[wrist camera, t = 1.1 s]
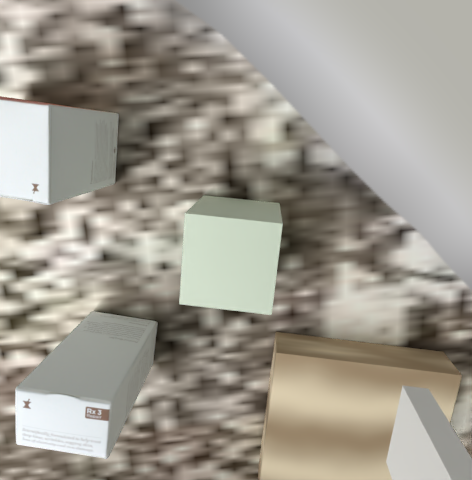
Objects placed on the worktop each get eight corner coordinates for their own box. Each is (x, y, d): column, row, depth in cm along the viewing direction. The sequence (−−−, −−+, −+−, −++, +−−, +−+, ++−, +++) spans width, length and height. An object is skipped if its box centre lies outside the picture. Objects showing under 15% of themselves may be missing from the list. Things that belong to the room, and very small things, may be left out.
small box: (121, 113, 32) (53, 103, 22) (117, 185, 34) (51, 206, 24) (20, 99, 33) (-92, 84, 23) (20, 171, 34) (-85, 187, 24)
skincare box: (90, 352, 38) (9, 450, 26) (92, 306, 37) (9, 387, 25) (157, 363, 37) (107, 467, 26) (162, 317, 36) (110, 403, 25)
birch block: (408, 485, 39) (424, 523, 35) (258, 464, 40) (257, 500, 36) (441, 349, 36) (462, 375, 32) (275, 329, 36) (276, 352, 32)
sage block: (270, 274, 35) (271, 314, 27) (198, 266, 35) (179, 304, 27) (279, 202, 33) (282, 223, 25) (204, 195, 33) (184, 213, 26)
